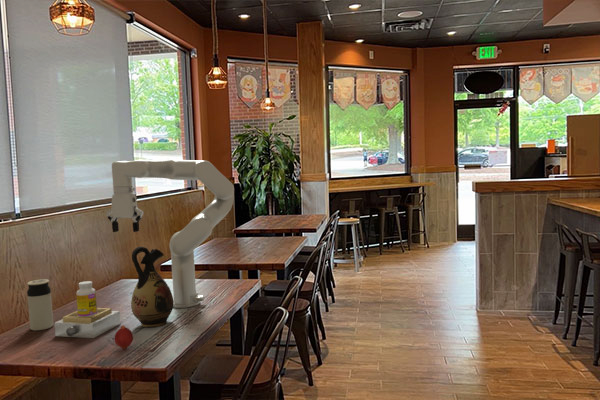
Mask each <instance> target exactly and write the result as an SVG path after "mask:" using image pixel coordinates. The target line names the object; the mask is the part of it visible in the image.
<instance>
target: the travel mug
mask: <svg viewBox="0 0 600 400" xmlns="http://www.w3.org/2000/svg"><path fill="white" fill-rule="evenodd" d="M49 282H50V280H49V279H48V278H47V279H45V278H42V279H35V280H31V281H28V282H27V286H28V289H27V291H26V294H27V296H26V297H27V305H28V307H27V308H28V320H29V329H30V330H32V331H34V332H35V331H38V332H39V331H44V330H47V329H50V328H52V327H53V326H54V315H53V303H52V291H51V287H50V285H49Z"/></svg>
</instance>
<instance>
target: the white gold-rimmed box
mask: <svg viewBox="0 0 600 400" xmlns="http://www.w3.org/2000/svg"><path fill="white" fill-rule="evenodd" d="M120 313H121V312H120V310H112V308H105V307H104V308H103V307H97V314H96V315H94V316H92V317H78V310H76V311H74V312H71V313H69V314H66V315H64V316H62V319H59V320H57V321H55V322H53V325H54V333H55V334H54V335H55V337H62V338H63V337H65V338H66V337H68V338H82V339H83V338H84V339H86V338H87V339H94V338H96V337H99V336H100V335H102V334H103V333H106V332H107V331H109V330H111V329H113V328H116V327H117V326H119V325H121V315H120Z"/></svg>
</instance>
